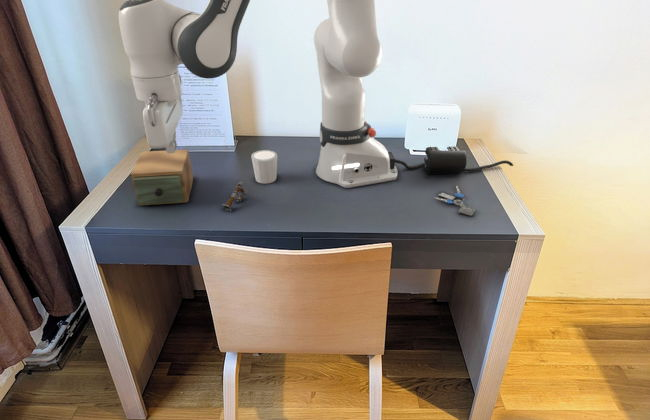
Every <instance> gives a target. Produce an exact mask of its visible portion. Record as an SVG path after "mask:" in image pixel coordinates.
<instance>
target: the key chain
mask: <svg viewBox="0 0 650 420" xmlns="http://www.w3.org/2000/svg"><path fill="white" fill-rule="evenodd" d="M455 188H456V189H455V190H456V192H455V193H454V196H453V195H451V194H447V193H445V192H441V193H439V194H438V196H440V197H441V198H440V197H437V196H434V200H437V201H440V202H445V204H449V205H450V204H451V205H452V204H454V205H456V206H458V207H460V208H459V209H458V213H459V214H463V215H467V216H469V217H470V216H471V217H472V216H473V215H474V214H475V211H476V209H475V208H472V207H469V206H466V205H465V204H464V201H465V195H464V194H463V193H461V191H460V189H459V186H458V185H455ZM442 197H443V198H442ZM456 198H460V199H461V198H462V199H463V200H460V199H456Z"/></svg>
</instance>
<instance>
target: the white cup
mask: <svg viewBox="0 0 650 420" xmlns="http://www.w3.org/2000/svg"><path fill="white" fill-rule="evenodd" d="M250 157H251V162H252V168H253V172H254V177H255V178H254V179H255V182H257V183H259V184H271V183H274V182H275V181H276V180H277V177H278V175H277V174H278V173H277V170H278V154H277V152H275V151H273V150H269V149H262V150H257V151H254V152H253V153H251V156H250Z"/></svg>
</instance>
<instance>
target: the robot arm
mask: <svg viewBox="0 0 650 420" xmlns="http://www.w3.org/2000/svg"><path fill="white" fill-rule="evenodd" d="M250 2H251V0H208V1H207V4H206V6H205V8H204V10H203V12H202V13H198V12H195V11H192V10H187V9H184V8H181V7H179V6H176V5H175V4H171V3H169V2H167V1H166V0H126V1H125V2H123V3H122V4H121V5H120V8H119V10H118V25H119V30H120V31H119V32H120V36H121V40H122V45H123V49H124V52H125V54H126V56H127V58H128V60H129V65H130V69H129V70H130V77H131V81H132V85H133V88H134V92H135V97H136V99H137V100H138V101H140V102H144V108H143V110H142V120H143V126H144V127H143V128H144V131H145V136H146V140H147V144H148V146H149V148H150V149H152V150H156V149H157V150H158V149H165V151H166V152H167V153H175V150H177V147H178V144H177V131H176V129H177V127H178V125H179V122H180V119H181V118H182V115H183V102H182V95H183V88H182V82H183V81H182V77H181V74H180V73H179V68H178V67H179V66H180V65H184V67H185V68H186V69H187V70H188V71H189V72H190V73H191V74H193V76H195V77H198V78H201V79H216V78H219V77H221V76H223V75H225V74H226V73H227V72H229V70H230V69H231V68H232V66H233V65H234V63H235V60H236V57H237V51H238V37H239V31H240V27H241V25H242V22H243V19H244V16H245V14H246V11H247V10H248V6H249V4H250ZM326 4H327V9H328V17H329V18H327V19H324V20H323V21H321V22H320V23H319V24H318V25H317V27H316V28H315V30H314V34H313V44H314V47H315V52H316V53H315V54H316V60H317V68H318V76H319V82H320V90H321V122H320V124H319V125H320V126H319V142H320V151H319V157H318V162H317V166H316V169H315V173H316V176H318V178H320V179H321V180H323V181H325V182H327V183H332V184H336V185H338V186H340V187H342V188H345V189H351V188H355V187H356V188H357V187H361V186H362V187H363V186H368V185H374V184H379V183H385V182H390V181H395V180H396V179H397V178H398V168H397V166H396V165H395V164H399V165H402V166H403V167H404V168H405V169H407V170H416V169H420V168H424V165H426V164H425V162H423V163H419V164H417V165H408V164H407V163H406V162H405V161H403V160H400V159H396V158H395V156H394V154H393V153H392V151H388V150H387V148H386V147H385V145H384V144H382V143H381V142H380V141H378V140H377V139H375V137H376V136H377V131H376V130H375V128H373V127H372V125H370V124H369V123H368V122H367V121H366V120H365V116H366V115H365V114H366V98H367V97H366V91H365V88H364V84H363V78H365V77H367V76H370V75H371V74H372V73H374V72H375V71H376V70H377V68H378V67H379V65H380V63H381V60H382V57H383V51H382V49H383V48H382V45H381V42H380V39H379V36H378V29H377V18H376V5H375V4H376V3H375V0H326ZM505 164H506V165H508V166H509V167H510V166H511V167H514V164H513V162H511V161H510V160H505V159H504V160H500V161H497V162H494V163H491V164H486V165H481V166H476V167H469V168H467V167H466V168H465V170H464V171H463V172H465V173H466V172H475V171H476V172H477V171H480V170H485V169H490V168H491V169H492V168H494V167H497V166H499V165H505Z"/></svg>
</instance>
